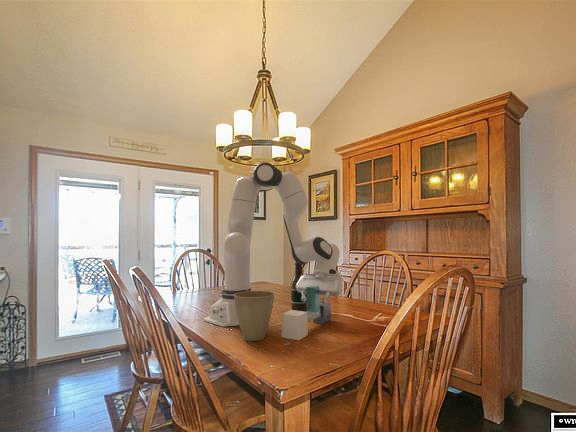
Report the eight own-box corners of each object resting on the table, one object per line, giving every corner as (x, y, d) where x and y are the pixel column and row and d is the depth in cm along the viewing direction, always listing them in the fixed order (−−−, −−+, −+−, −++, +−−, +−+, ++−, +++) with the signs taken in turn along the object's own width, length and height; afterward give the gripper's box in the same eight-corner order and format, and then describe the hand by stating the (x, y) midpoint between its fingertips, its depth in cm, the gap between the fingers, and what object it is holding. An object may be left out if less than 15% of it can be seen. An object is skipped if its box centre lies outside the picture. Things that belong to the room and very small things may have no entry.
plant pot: (281, 340, 113) (280, 295, 114) (241, 347, 107) (241, 299, 108) (265, 329, 127) (265, 289, 128) (228, 335, 120) (228, 292, 121)
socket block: (281, 337, 117) (281, 313, 117) (291, 332, 123) (291, 309, 123) (298, 340, 113) (298, 316, 114) (307, 335, 119) (307, 312, 120)
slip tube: (296, 322, 124) (296, 290, 124) (321, 310, 142) (320, 282, 143) (306, 324, 121) (305, 290, 122) (329, 312, 140) (329, 283, 141)
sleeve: (313, 322, 136) (313, 304, 137) (320, 318, 142) (320, 301, 143) (324, 324, 134) (323, 305, 134) (330, 320, 140) (330, 302, 140)
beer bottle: (307, 309, 161) (306, 261, 162) (306, 313, 153) (306, 262, 154) (292, 309, 161) (291, 261, 163) (290, 312, 154) (290, 262, 155)
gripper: (299, 269, 144) (288, 294, 135) (342, 271, 134) (333, 299, 125) (304, 278, 148) (294, 303, 139) (346, 280, 137) (338, 308, 128)
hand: (313, 301), depth 132 cm, fingers open, 8 cm apart
